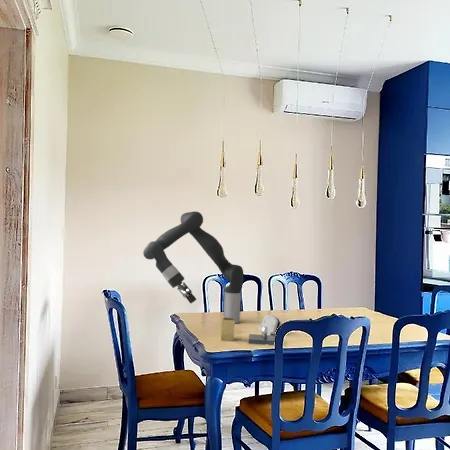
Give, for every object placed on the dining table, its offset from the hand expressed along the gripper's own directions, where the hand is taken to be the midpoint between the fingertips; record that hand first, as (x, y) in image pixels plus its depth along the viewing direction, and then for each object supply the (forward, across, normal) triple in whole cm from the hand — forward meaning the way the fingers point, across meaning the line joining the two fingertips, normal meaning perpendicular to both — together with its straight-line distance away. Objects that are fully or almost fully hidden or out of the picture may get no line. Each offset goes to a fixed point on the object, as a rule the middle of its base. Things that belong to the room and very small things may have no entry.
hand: (193, 301), depth 233 cm
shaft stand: (+37, -4, -14) cm, 40 cm away
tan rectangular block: (+25, 0, -1) cm, 25 cm away
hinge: (+39, +16, -23) cm, 48 cm away
